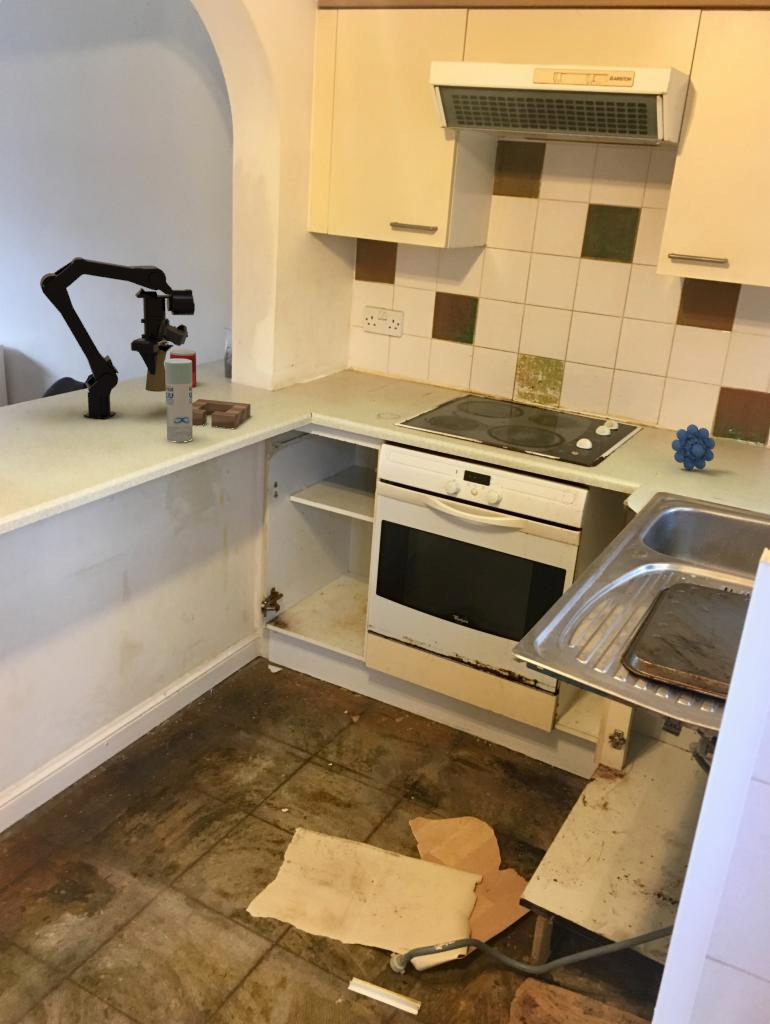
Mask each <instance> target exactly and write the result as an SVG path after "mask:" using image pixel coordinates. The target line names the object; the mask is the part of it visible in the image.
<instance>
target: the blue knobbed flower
mask: <svg viewBox="0 0 770 1024" xmlns="http://www.w3.org/2000/svg"><path fill="white" fill-rule="evenodd" d="M676 438H677V439H674V440H673V441H672V442H671V449H672V450H673V451H674V452H675V453H674V455H673V456H674V460H675V462H676V463H680V464H683V467H684V469H686V470H688V471H691V470H693V469H694V468H696V469H698V470H703V469H705V468H706V465H707V463H706V462H711V461H712V460H714V457H715V454H714V452H713V451H712V450H713V449H715V447H716V441H715V440H714V439H713V438H711V437H710V432H709V429H707V428H706V427H705V428H704V427H700V428H698V426H697V425H696V424H693V423H692V424H689V425H688V426H686V429H684V428H680V429H678V430H677V432H676Z"/></svg>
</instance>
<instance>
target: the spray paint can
mask: <svg viewBox="0 0 770 1024" xmlns="http://www.w3.org/2000/svg"><path fill="white" fill-rule="evenodd" d="M164 367H165V383H166V391H165V408H166V409H165V411H166V412H165V413H166V414H165V415H166V439H167V441H168V440H170V441H176V442H184V441H189V440H191V439H192V440H193V425H192V403H193V388H192V361H191V360H188V359H181V358H173V359H170V358H167V359H165V360H164ZM170 441H169V442H170Z"/></svg>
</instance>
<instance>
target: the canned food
mask: <svg viewBox="0 0 770 1024" xmlns="http://www.w3.org/2000/svg"><path fill="white" fill-rule="evenodd" d="M173 358H181V359H188V360H191V361H192V387H193V388H195V387H196V385H197V352H196V350H194V349H187V348H178V349H177V348H176V349H172V350H171V349H170V352H169V359H173Z"/></svg>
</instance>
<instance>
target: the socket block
mask: <svg viewBox="0 0 770 1024" xmlns="http://www.w3.org/2000/svg"><path fill="white" fill-rule="evenodd" d="M208 416H210V417H211V420H210V421H211V424H210V425H211V426H217V427H225V428H224V429H227V428H235V427H236V428H238V427H239V426H240V425H241V424H242V423H244V422H245V421H247V419H249V418H250V417H251V404H250V403H245V402H232V401H226V400H225V401H224V400H213V399H204V398H198V399H197V400H195V401H192V424H194V425H193V426H198V425H203V424H204V425H206V424H207V423H208ZM206 422H207V423H206ZM205 423H206V424H205ZM239 424H240V425H239ZM204 425H203V426H204ZM238 425H239V426H238ZM217 427H216V428H217ZM236 428H235V429H236Z"/></svg>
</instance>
